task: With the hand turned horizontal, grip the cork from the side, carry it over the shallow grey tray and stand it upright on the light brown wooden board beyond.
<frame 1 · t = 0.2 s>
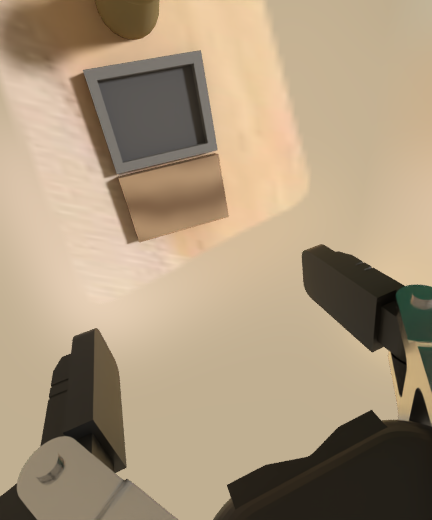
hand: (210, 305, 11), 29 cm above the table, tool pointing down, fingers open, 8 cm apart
shallow grey tray: (155, 114, 34), on the table
cork: (127, 2, 29), on the table
light brown wooden board: (175, 196, 38), on the table
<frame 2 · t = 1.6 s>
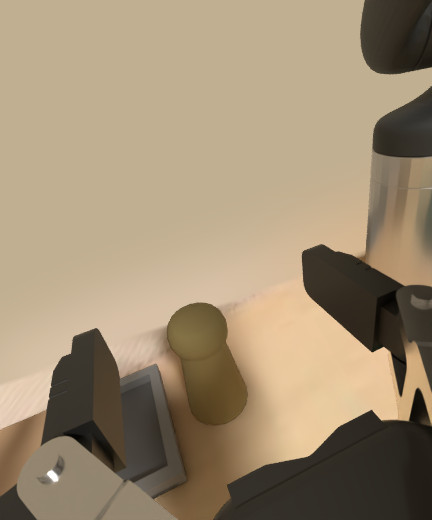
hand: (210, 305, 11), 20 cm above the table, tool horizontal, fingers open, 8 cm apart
shallow grey tray: (121, 440, 29), on the table
cork: (218, 396, 31), on the table
light brown wooden board: (16, 489, 27), on the table
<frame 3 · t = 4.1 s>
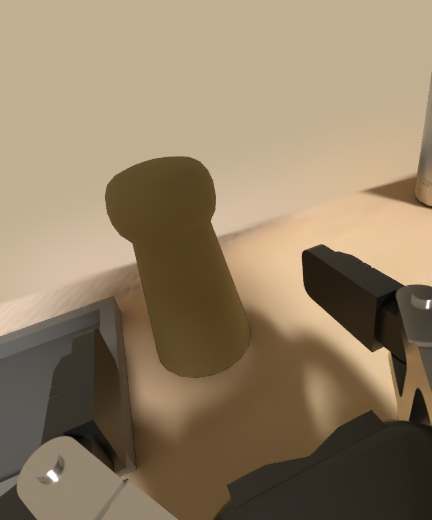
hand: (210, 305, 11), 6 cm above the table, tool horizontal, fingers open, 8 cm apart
shallow grey tray: (40, 402, 17), on the table
cork: (204, 339, 19), on the table
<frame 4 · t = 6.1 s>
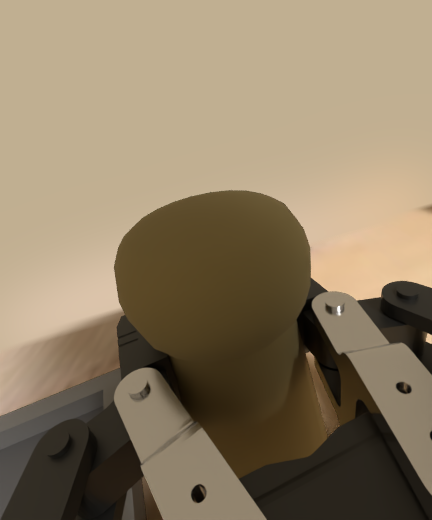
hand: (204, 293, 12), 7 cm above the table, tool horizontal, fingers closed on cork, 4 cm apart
cork: (257, 448, 13), on the table, touching gripper
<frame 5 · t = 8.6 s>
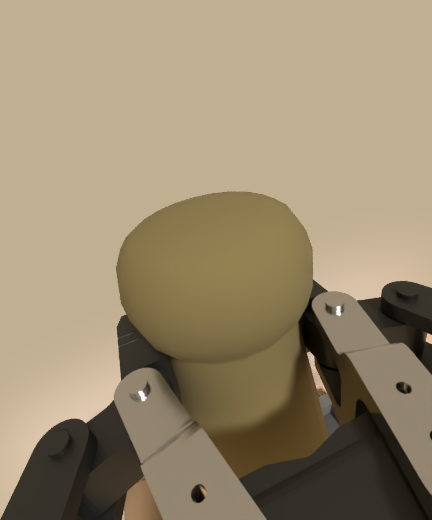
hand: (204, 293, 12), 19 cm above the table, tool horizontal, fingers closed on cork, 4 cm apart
shallow grey tray: (328, 501, 21), on the table
cork: (258, 449, 13), point 12 cm above the table, touching gripper
when the fingers open (8 cm above the table, at t = 11.4 s): cork stays where it is, resting on light brown wooden board.
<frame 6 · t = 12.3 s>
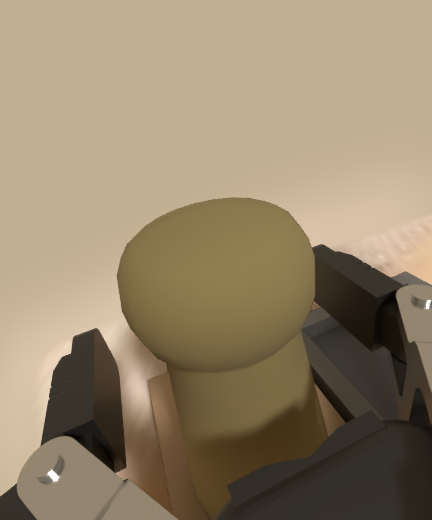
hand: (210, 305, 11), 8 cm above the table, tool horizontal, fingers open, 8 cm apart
shallow grey tray: (424, 380, 16), on the table
cork: (259, 454, 13), point 1 cm above the table, touching light brown wooden board
light brown wooden board: (260, 465, 14), on the table
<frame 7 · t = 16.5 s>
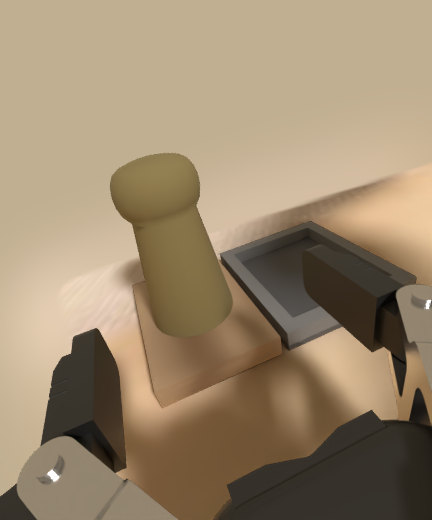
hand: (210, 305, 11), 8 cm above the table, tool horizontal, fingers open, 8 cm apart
shallow grey tray: (302, 278, 25), on the table
cork: (194, 309, 23), point 1 cm above the table, touching light brown wooden board
light brown wooden board: (197, 320, 23), on the table
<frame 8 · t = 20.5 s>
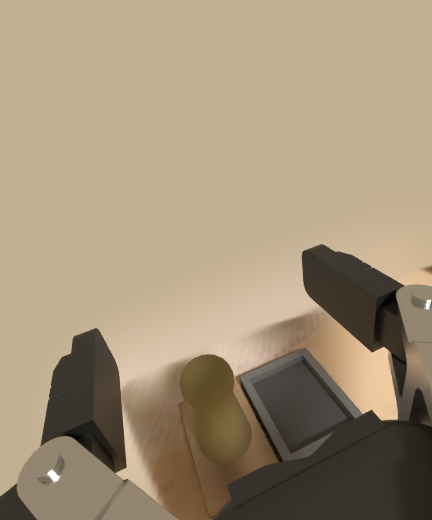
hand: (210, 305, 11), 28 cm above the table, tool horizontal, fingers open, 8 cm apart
shallow grey tray: (298, 405, 36), on the table
cork: (225, 435, 34), point 1 cm above the table, touching light brown wooden board
light brown wooden board: (226, 440, 35), on the table
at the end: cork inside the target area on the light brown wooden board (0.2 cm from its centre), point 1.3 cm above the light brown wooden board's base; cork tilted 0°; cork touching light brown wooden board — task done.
